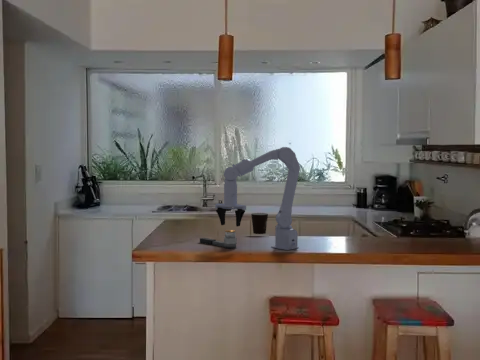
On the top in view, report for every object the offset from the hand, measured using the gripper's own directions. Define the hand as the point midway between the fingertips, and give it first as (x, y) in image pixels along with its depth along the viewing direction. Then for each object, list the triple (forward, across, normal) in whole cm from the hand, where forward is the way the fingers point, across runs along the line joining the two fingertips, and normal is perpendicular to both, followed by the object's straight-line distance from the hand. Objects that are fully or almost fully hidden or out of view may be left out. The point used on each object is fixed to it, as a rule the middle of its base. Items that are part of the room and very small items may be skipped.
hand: (230, 225), depth 240 cm
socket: (+8, 0, 0) cm, 8 cm away
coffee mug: (+10, +7, -45) cm, 47 cm away
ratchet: (+10, +8, -2) cm, 13 cm away
